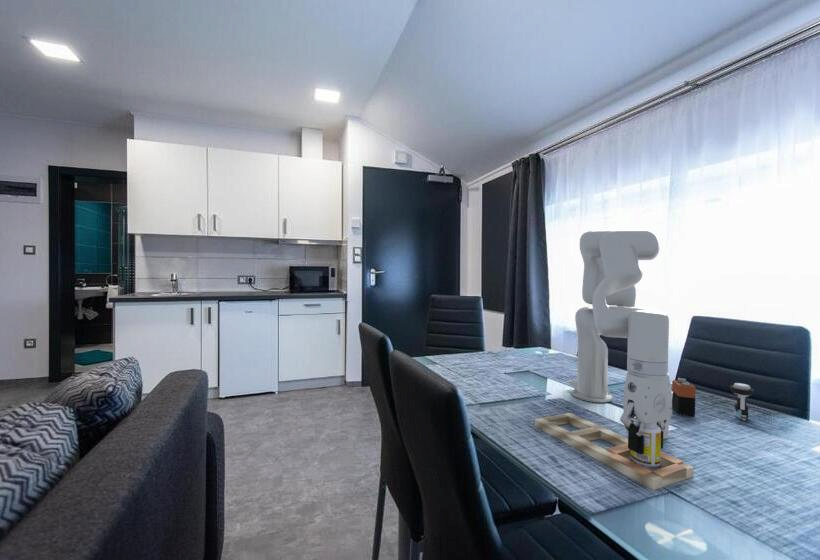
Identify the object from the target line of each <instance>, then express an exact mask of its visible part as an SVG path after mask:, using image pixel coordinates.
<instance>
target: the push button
mask: <svg viewBox="0 0 820 560" xmlns="http://www.w3.org/2000/svg"><path fill="white" fill-rule="evenodd" d="M729 388H730V392H732V393H733V394H734V395H737V398H736V403H735V404H734V411H733V412H734V413H733V414H734V416H735V417H737V418H739V419H738V420H740V421H741V420H742V421H747V419H749V406H748V405H747V398H746V397H750V396H753V395H754V394H753V393H754V392H755V389H754V388H751V385H749V384H746V383H741V382H735V383H734V384H733V385H730V386H729Z"/></svg>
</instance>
